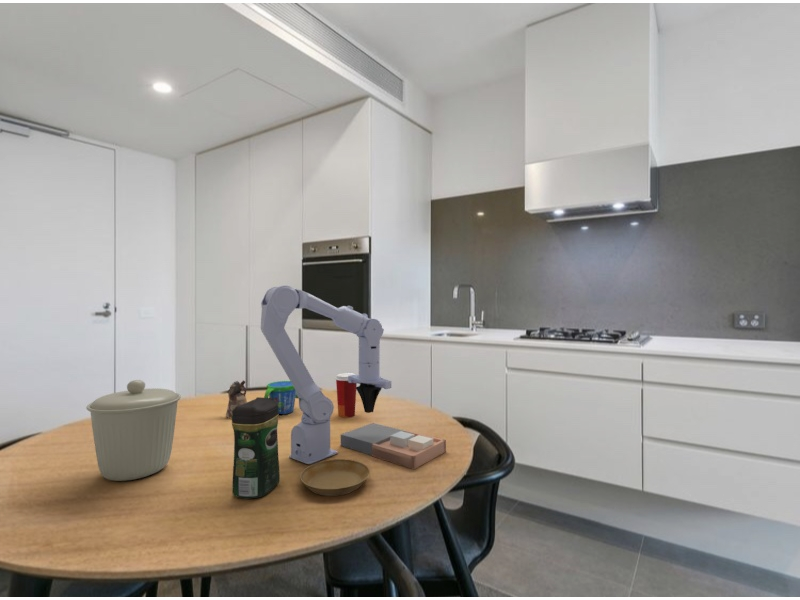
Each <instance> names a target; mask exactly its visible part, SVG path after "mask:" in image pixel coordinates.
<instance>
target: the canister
mask: <svg viewBox="0 0 800 600" xmlns="http://www.w3.org/2000/svg"><path fill="white" fill-rule="evenodd" d="M126 389H127V390H123V391H119V392H112V393H109V394H106V395H102V396H100V397H98V398H95V400H93V401H92V402H90V403H88V404H87V405H86V406H85V407H86V410H87V411H88V412H90V419H91V427H92V434H93V435H92V436H93V442H94V443H93V444H94V450H95V455H96V456H95V457H96V461H97V466H98V471H99V473H100V475H101V476H102V477H103V478H104V479H106V480H108V481H114V482H115V481H116V482H124V481H132V480H133V481H134V480H137V479H141V478H145V477H149V476H152V475H153V474H156V473H158V472H159V471H162V470H163V469H164V468H165V467H166V466H167V464H168V463H169V461H170V459H171V455H172V449H173V444H174V443H173V442H174V437H175V436H174V435H175V426H176V421H177V420H176V418H177V410H178V403H179V401H180V399H181V398H182V396H181V394H179V393H177V392H175V391H173V390H170V389H167V388H146V383H145V381H144V380H141V379H134V380H131V381H129V382H128V383H127V384H126Z"/></svg>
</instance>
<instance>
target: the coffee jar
mask: <svg viewBox="0 0 800 600" xmlns="http://www.w3.org/2000/svg"><path fill="white" fill-rule="evenodd" d="M278 413H279V412H278V404H277V402H276V401H275V400H274V399H273V398H269V397H268V398H264V397H261V396H260V397H256V398H254V399H252V400H250V401H247V403H245V404H242V405H239V406H237V407H236V408H234V409H233V410H232V419H231V426H232V429H233V435H234V436H233V438H234V439H233V440H234V445H233V446H234V447H233V448H234V449H233V469H232V485H231V486H232V487H231V489H232V490H231V491H232V494H233V495H234V496H236V497H237V498H240V499H243V500H244V499H246V500H250V499H256V498H262V497H264V496H266V495H267V494H268V493H270V492H271V491H273V490H274V489H275V487H276V486H277V485H278V484H279V483H280V479H281V477H280V460H279V444H278V443H279V442H278V441H279V440H278V426H279V425H278V424H279V423H278V422H279V418H280V417H279V414H278Z"/></svg>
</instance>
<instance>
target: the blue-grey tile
mask: <svg viewBox="0 0 800 600" xmlns="http://www.w3.org/2000/svg"><path fill="white" fill-rule="evenodd" d="M413 437H415V434H411V433H407V432H403V431H400V432H397V433H395V434H393V435H390V444H392V445H395V446H399V447H403V448H405V447H407V446H408V440H409V439H411V438H413Z"/></svg>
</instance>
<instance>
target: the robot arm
mask: <svg viewBox="0 0 800 600" xmlns="http://www.w3.org/2000/svg"><path fill="white" fill-rule="evenodd" d="M260 305H261V314H260V315H261V318H260V330H261V333H262V334H263V336H264V338H265V339H266V342H267V343H268V344H269V346H270V348H271V350H272V352H273V353H274V355H275V358H276V359H277V360H278V362H279V363H280V365H281V367H282V369H283V371H284V372H285V374H286V376H287V378H288V379H289V381H291V383H292V385H293V386H294V388H295V390H296V395H297V397H298V398H297V400H298V407H299V409H300V411H301V412H302V416H301V417H300V418H301V419H300V420H301V421H300V422H299V423H298V424H297V425H294V426H293V428H292V429H291V432H290V454H289V455H288V457H289V458H290V459H293V460H295V461H298V462H301V463H303V464H305V465H313V464H315V463H318V462H321V461H322V460H325V459H327V458H330V457H331V456H334V455H336V454H338V450H336V449H332V448H331V417H332V415H333V414H334V411H335V410H334V408H335V407H334V402H333V401H332V400H331V399H330V398H329V397H327V396H326V395H325V394H324V393H323V391H322V390H321V389H320V387H319V386H318V385H317V384H316V382H315V380H314V379H313V377H312V376H311V374H310V371H309V370H308V369H307V366H306V364H305V363H304V361H303V359H302V358H301V355H300V353H299V352H298V351H297V349H296V346H295V345H294V343H293V342H292V340H291V338H290V336H289V334H288V332H287V331H286V329H285V328H286V327H285V326H286V324H287V322H288V319H289V317H290V315H291V314H292V313H293V312H294V311H295V309H296V310H297V309H306V310H308V311H312V312H314V313H316V314H319V315H322V316H323V317H327V318H328V319H332V322H333V324H334V326H335V327H338V328H340V329H341V330H344V331H347V332H349V333H352V334H354V335H356V337H358V375H357V374H356V375H350V376H348V382H349V383H357V384H359V385H358V386H357V387H356V392H357V393H358V395H359V396H360V399H361V403H362V406H363V411H364V413H367V414H369V413H373V412H374V409H375V405H376V402H377V399H378V397H379V394H380V392H381V390H382V389H384V390H389V389H392V380H388V379H385V378H382V376H381V375H380V360H381V359H380V358H381V357H380V356H381V355H380V350H381V349H380V348H381V347H380V341H381V337H382V336H383V334H384V331H385V330H384V328H383V325H382V323H380V322H381V321H379V320H378V319H376V318H369V317H368V314H367V313H360V312H359V311H356V310H354V307H353V306H351V305H347V306H346V305H342V306H340V307H336V306H334V305H332V304H331V303H329V302H326V301H324V300H322V299H321V298H319V297H318V296H317V297H316V296H315V295H313V294H311V293H309V292H306V291H304V290H301V289H297V288H294V287H293V286H290V285H281V286H273V287H271V288H269V289H268V290H267V291H266V292H265V294H264V296H263V298H262V299H261V303H260Z"/></svg>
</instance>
